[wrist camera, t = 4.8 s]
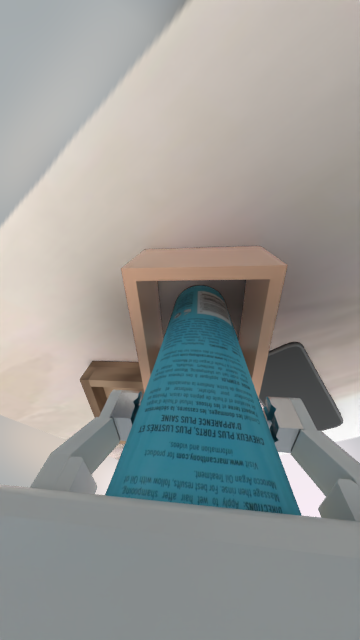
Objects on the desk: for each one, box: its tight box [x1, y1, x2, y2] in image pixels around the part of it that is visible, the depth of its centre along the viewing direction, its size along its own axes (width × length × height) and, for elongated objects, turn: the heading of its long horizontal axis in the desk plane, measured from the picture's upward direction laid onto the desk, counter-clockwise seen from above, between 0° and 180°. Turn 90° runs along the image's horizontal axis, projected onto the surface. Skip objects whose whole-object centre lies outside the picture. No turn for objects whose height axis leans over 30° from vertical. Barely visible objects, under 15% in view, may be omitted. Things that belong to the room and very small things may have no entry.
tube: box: [105, 286, 302, 516], centre depth 11 cm, size 7×5×19 cm, turn 94°
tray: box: [80, 361, 144, 444], centre depth 26 cm, size 12×12×3 cm
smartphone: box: [259, 342, 343, 431], centre depth 24 cm, size 7×1×15 cm
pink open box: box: [121, 246, 287, 399], centre depth 17 cm, size 10×12×6 cm
